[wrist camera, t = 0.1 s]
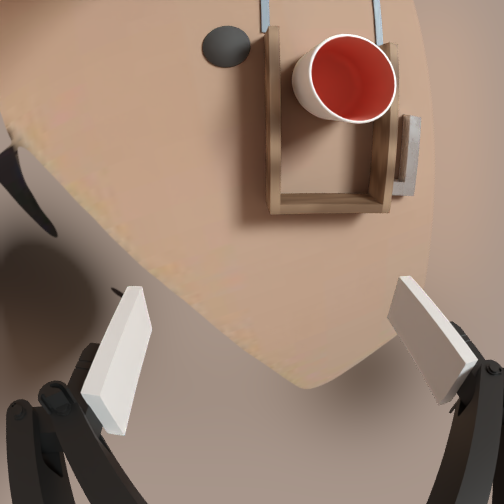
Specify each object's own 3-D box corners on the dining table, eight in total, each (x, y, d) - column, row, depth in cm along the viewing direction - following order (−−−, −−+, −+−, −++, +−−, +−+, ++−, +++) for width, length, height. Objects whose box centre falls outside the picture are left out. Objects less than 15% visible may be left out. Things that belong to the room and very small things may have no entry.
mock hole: (202, 27, 30) (202, 27, 29) (249, 25, 30) (249, 25, 30) (203, 68, 32) (203, 68, 32) (250, 66, 33) (250, 66, 32)
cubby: (264, 35, 31) (268, 25, 26) (380, 49, 31) (397, 44, 27) (266, 202, 41) (270, 214, 37) (374, 201, 42) (389, 213, 37)
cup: (366, 63, 33) (403, 54, 24) (352, 127, 37) (386, 135, 28) (297, 41, 31) (317, 21, 22) (283, 109, 35) (299, 109, 27)
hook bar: (391, 112, 36) (398, 113, 34) (413, 116, 36) (421, 117, 34) (385, 191, 41) (392, 195, 39) (407, 192, 41) (413, 195, 40)
